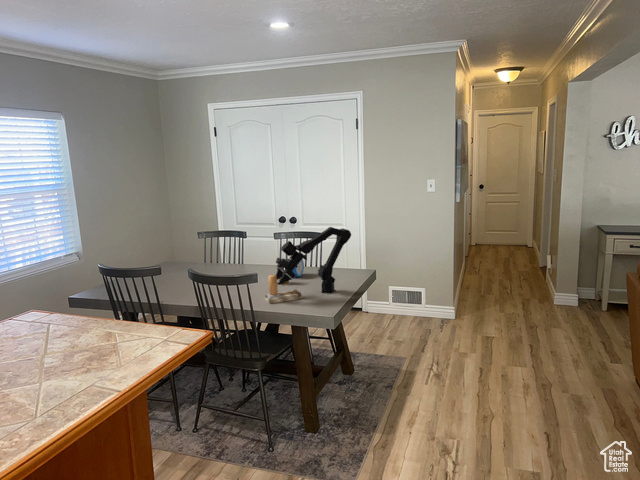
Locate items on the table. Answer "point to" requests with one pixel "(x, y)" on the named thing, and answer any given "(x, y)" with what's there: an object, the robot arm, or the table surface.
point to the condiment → (283, 283)
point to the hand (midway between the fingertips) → (276, 282)
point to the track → (285, 296)
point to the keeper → (273, 287)
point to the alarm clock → (299, 269)
